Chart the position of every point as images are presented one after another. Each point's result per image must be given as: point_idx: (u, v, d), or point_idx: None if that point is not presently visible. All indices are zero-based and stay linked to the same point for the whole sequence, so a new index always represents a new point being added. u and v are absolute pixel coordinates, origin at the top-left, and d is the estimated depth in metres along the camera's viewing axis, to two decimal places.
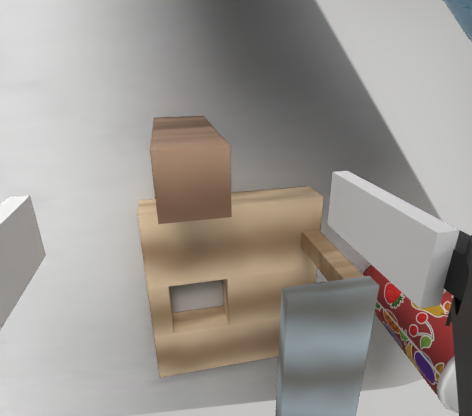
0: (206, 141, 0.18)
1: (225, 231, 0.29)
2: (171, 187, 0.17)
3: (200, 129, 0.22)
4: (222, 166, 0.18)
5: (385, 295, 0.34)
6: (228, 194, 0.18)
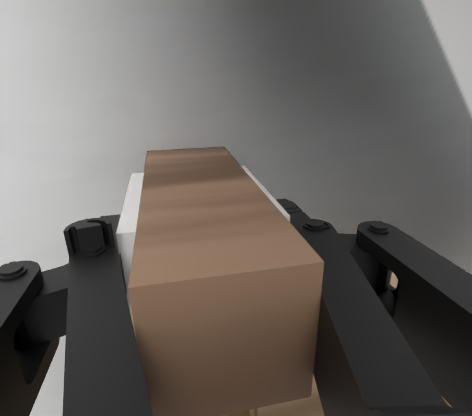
0: (258, 237, 0.08)
1: None
2: (180, 360, 0.07)
3: (230, 186, 0.12)
4: (301, 306, 0.07)
5: None
6: (309, 357, 0.08)
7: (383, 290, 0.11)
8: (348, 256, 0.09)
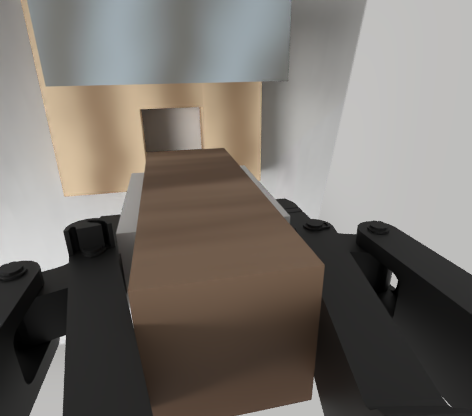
0: (258, 240, 0.08)
1: (77, 112, 0.28)
2: (180, 362, 0.07)
3: (231, 188, 0.12)
4: (301, 309, 0.07)
5: None
6: (309, 360, 0.08)
7: (383, 290, 0.11)
8: (348, 256, 0.09)
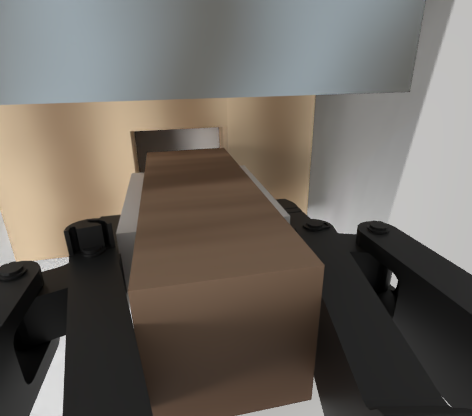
0: (258, 240, 0.08)
1: (31, 137, 0.17)
2: (180, 363, 0.07)
3: (231, 188, 0.12)
4: (300, 309, 0.07)
5: None
6: (309, 360, 0.08)
7: (383, 290, 0.11)
8: (348, 256, 0.09)
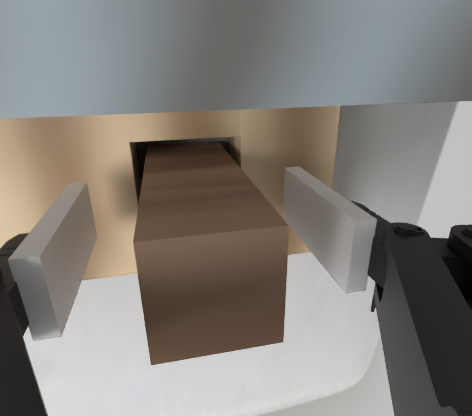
0: (239, 209, 0.10)
1: (15, 149, 0.15)
2: (174, 304, 0.09)
3: (220, 172, 0.14)
4: (271, 262, 0.09)
5: None
6: (280, 307, 0.10)
7: None
8: (440, 263, 0.08)
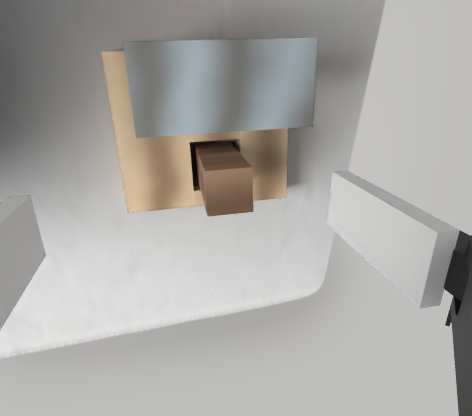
0: (237, 164, 0.29)
1: (141, 146, 0.34)
2: (216, 193, 0.28)
3: (230, 154, 0.33)
4: (247, 180, 0.28)
5: None
6: (251, 197, 0.29)
7: None
8: None
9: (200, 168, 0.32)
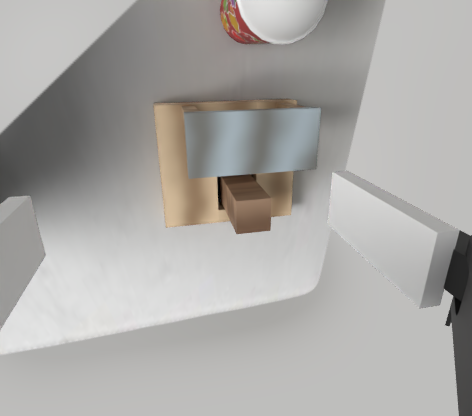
0: (258, 194, 0.39)
1: (179, 175, 0.44)
2: (243, 217, 0.38)
3: (251, 184, 0.42)
4: (267, 207, 0.38)
5: (242, 40, 0.38)
6: (269, 219, 0.39)
7: None
8: None
9: (228, 195, 0.42)
